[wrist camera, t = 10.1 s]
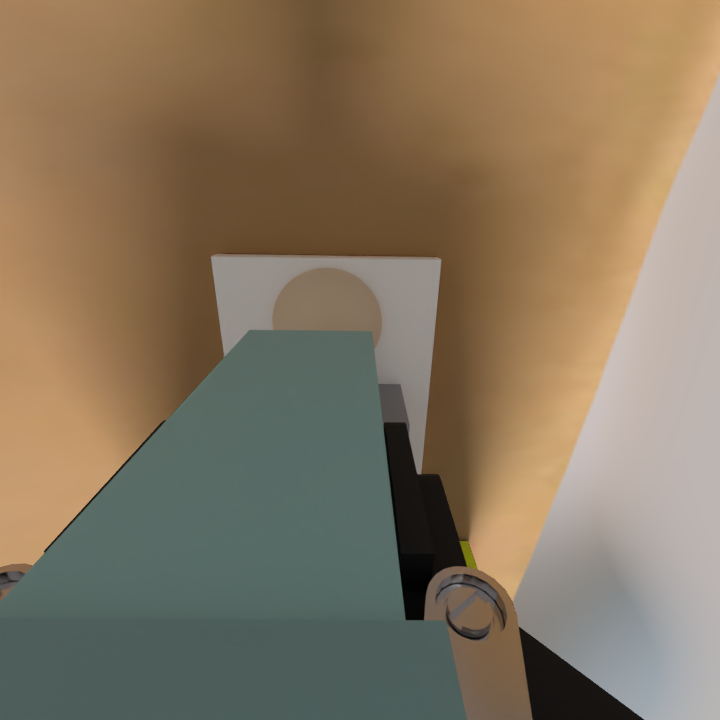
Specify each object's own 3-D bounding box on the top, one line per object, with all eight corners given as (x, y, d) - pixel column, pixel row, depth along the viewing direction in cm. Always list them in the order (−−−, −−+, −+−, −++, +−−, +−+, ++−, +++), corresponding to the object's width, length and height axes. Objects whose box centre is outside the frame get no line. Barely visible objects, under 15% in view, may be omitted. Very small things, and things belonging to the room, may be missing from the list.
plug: (238, 320, 14) (-278, 792, 3) (381, 322, 14) (482, 794, 3) (251, 442, 16) (-14, 1017, 4) (377, 443, 16) (425, 1017, 5)
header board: (217, 254, 21) (171, 270, 15) (437, 257, 21) (463, 274, 16) (247, 487, 27) (220, 554, 22) (416, 489, 27) (430, 556, 22)
